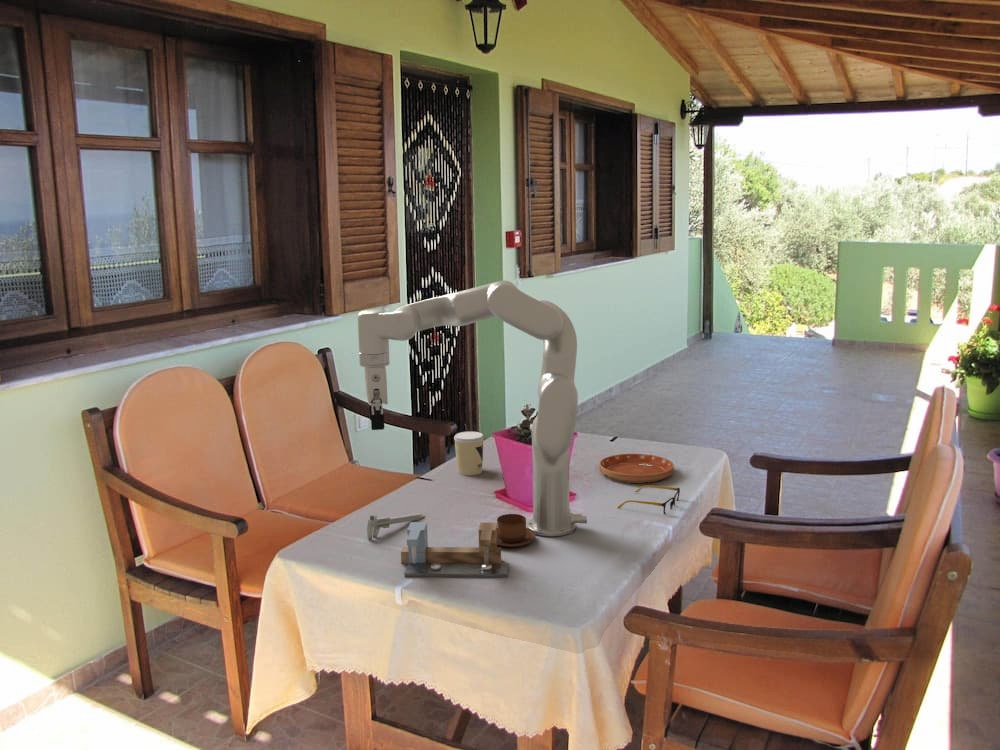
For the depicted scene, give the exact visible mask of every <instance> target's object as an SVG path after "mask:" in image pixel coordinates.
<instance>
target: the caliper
mask: <svg viewBox="0 0 1000 750" xmlns="http://www.w3.org/2000/svg"><path fill="white" fill-rule="evenodd" d="M422 518H426V515H423V514H422V513H419V512H418V513H413V514H407V515H406V514H405V515H400V516H394V517H393V516H392V517H390V516H383V517H378V516H377V514H373V515H371V514H370V517H369V519H368V521H367V526H366V531H367V532H366V535H367V539H369V540H373V538H375V539H376V537H377V538H378V536H379V533H380V529H381V528H383V529H386V528H390V525H394V524H402V523H407V522H415V521H418V520H421V519H422Z"/></svg>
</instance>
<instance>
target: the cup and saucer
mask: <svg viewBox="0 0 1000 750" xmlns="http://www.w3.org/2000/svg"><path fill="white" fill-rule="evenodd" d="M496 523H497V546H501V547H505V548H517V547H518V548H519V547H522V546H526V545H529V544H530V543H531V542H532V541H534V539H535V538H536V534H535V532H534V531H533V530H531V529H529V528H527V517H526V516H524V515H522V514H517V513H507V514H502V515H500V516H498V517H496Z"/></svg>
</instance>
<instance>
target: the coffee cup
mask: <svg viewBox="0 0 1000 750" xmlns="http://www.w3.org/2000/svg"><path fill="white" fill-rule="evenodd" d="M453 439H454V440H453V441H454V449H455V459H456V468H457V473H458V474H459V475H460V476H461V475H462V476H469V477H470V476H477V475H480V474H481V473H482V471H483V457H484V440H485V437H484V435H483V433H481V432H480V431H479V432H478V431H462V432H458V433H456V434H455V435H454V437H453Z"/></svg>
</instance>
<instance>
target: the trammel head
mask: <svg viewBox="0 0 1000 750" xmlns="http://www.w3.org/2000/svg"><path fill="white" fill-rule="evenodd" d="M428 538H429V537H428V522H425V521H424V522H423V521H422V522H419V521H418V522H417V521H410V522H409V525H408V528H407V538H406V547H408V556H409V563H426V557H425V550H426V548H427V547H429V542H428Z"/></svg>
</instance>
